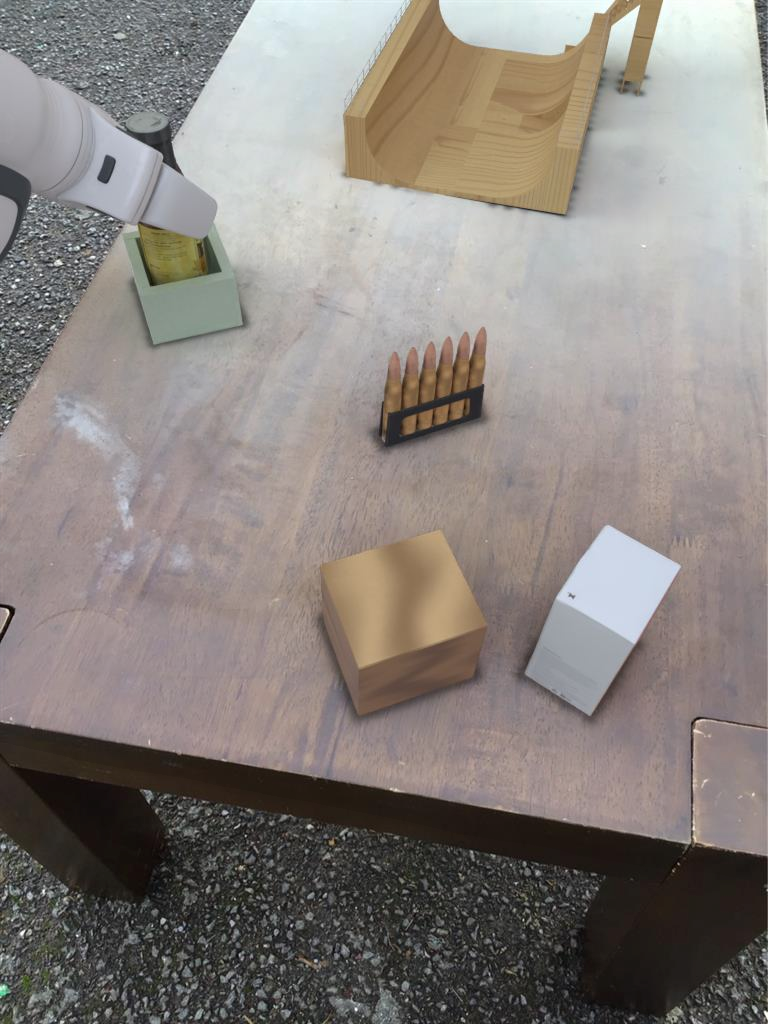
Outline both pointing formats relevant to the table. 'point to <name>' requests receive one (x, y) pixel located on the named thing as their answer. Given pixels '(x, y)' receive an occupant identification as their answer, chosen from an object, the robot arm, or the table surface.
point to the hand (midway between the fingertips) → (169, 201)
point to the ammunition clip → (433, 390)
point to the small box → (600, 618)
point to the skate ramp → (482, 110)
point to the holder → (187, 294)
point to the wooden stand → (401, 621)
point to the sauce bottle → (162, 248)
